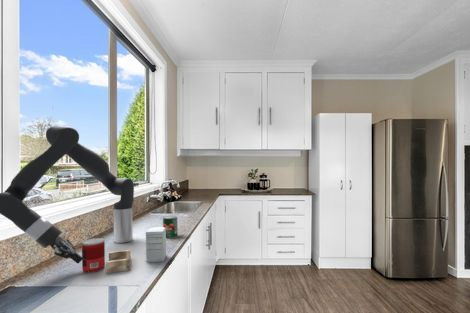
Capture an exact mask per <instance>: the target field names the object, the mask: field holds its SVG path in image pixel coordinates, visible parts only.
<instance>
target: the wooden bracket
mask: <svg viewBox="0 0 470 313" xmlns="http://www.w3.org/2000/svg"><path fill="white" fill-rule="evenodd" d="M131 251H132V250H131V249H123V250H116V251H109V252H108V260H105V274H109V273H111V274H112V273H117V272H125V271H130V270H131V261H132V256H131Z"/></svg>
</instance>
